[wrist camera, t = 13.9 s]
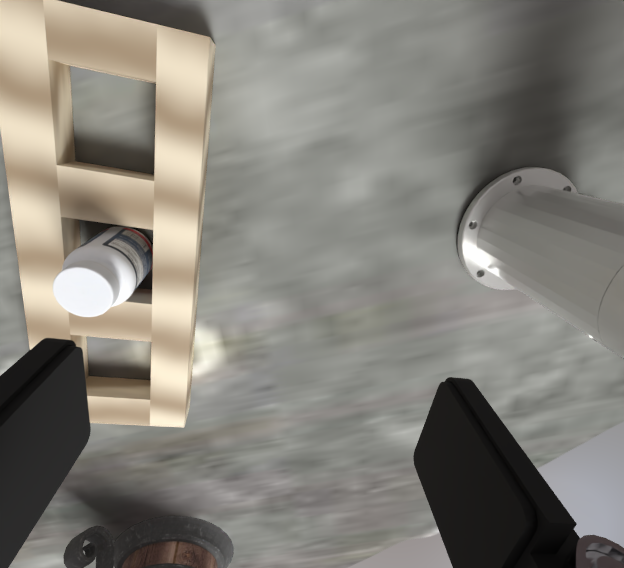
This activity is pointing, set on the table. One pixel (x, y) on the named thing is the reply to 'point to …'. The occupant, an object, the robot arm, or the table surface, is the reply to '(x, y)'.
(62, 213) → the wooden rack
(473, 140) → the table surface
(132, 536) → the tankard
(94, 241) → the pill bottle
